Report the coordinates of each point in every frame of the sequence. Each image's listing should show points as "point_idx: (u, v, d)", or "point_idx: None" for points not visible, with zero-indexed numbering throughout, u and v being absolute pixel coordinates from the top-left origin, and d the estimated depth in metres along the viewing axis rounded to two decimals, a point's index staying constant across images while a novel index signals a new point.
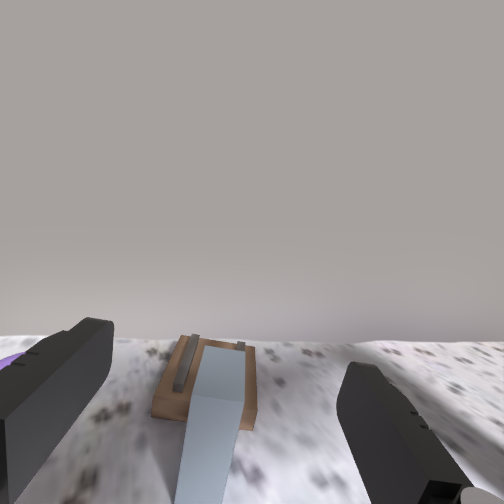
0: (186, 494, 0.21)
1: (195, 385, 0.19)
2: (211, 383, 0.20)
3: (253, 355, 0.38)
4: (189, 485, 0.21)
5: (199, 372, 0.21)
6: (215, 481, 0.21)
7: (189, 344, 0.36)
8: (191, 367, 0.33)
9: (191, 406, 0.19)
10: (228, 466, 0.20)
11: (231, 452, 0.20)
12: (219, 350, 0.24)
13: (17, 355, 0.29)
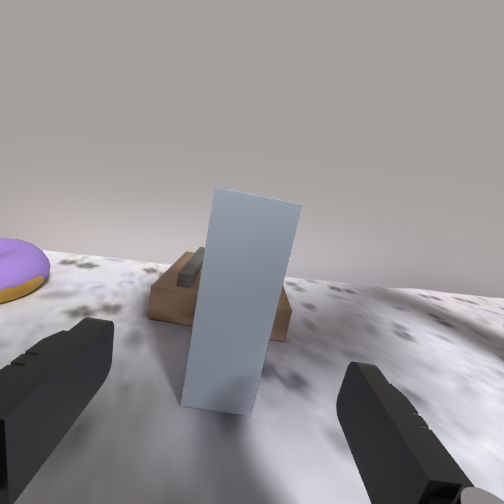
0: (201, 380, 0.13)
1: None
2: (244, 193, 0.12)
3: None
4: (205, 365, 0.13)
5: (223, 188, 0.13)
6: (246, 357, 0.13)
7: (197, 252, 0.29)
8: (200, 272, 0.26)
9: (213, 212, 0.11)
10: (269, 331, 0.13)
11: (275, 305, 0.12)
12: None
13: None
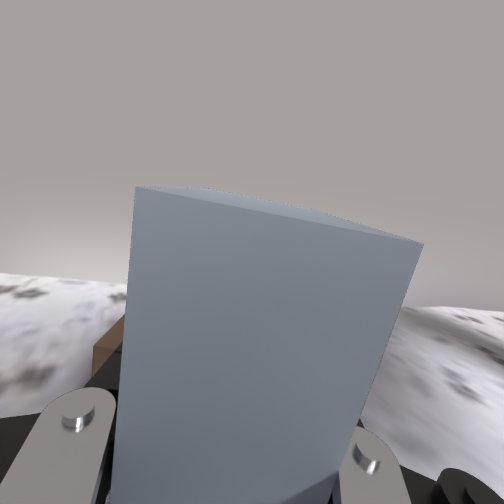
0: None
1: (165, 187, 0.04)
2: (238, 201, 0.05)
3: None
4: None
5: (188, 189, 0.06)
6: None
7: None
8: None
9: (138, 265, 0.04)
10: None
11: (321, 500, 0.05)
12: (247, 196, 0.09)
13: None
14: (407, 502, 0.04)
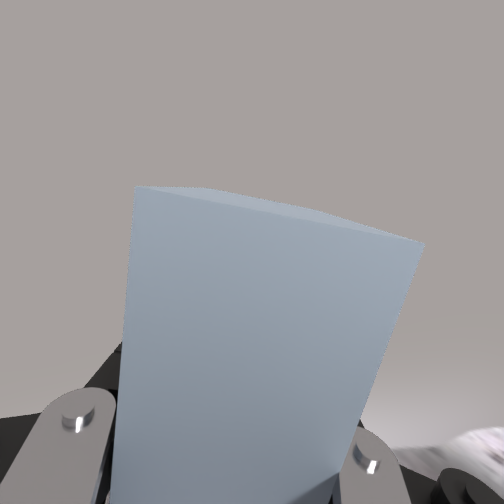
0: None
1: None
2: (238, 200, 0.05)
3: None
4: None
5: (188, 188, 0.06)
6: None
7: None
8: None
9: (138, 265, 0.03)
10: None
11: (322, 501, 0.05)
12: (247, 196, 0.09)
13: None
14: (407, 502, 0.04)
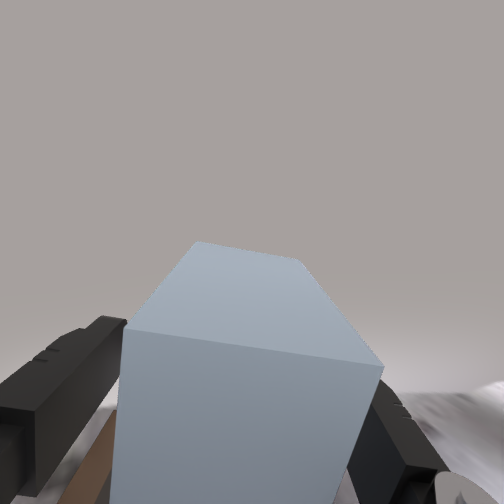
0: None
1: (152, 300, 0.04)
2: (221, 300, 0.05)
3: None
4: None
5: (175, 274, 0.06)
6: None
7: None
8: None
9: (127, 390, 0.04)
10: None
11: None
12: (234, 251, 0.09)
13: None
14: None
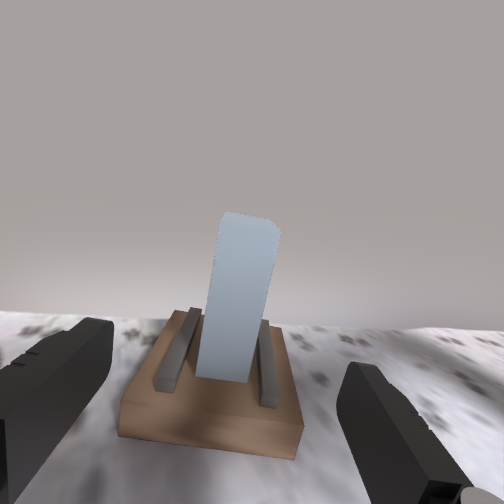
0: (210, 356, 0.18)
1: (223, 218, 0.17)
2: (241, 221, 0.17)
3: (281, 339, 0.26)
4: (213, 345, 0.18)
5: (225, 216, 0.18)
6: (243, 339, 0.18)
7: (186, 320, 0.24)
8: (189, 353, 0.21)
9: (220, 236, 0.16)
10: (259, 319, 0.18)
11: (263, 300, 0.17)
12: (242, 215, 0.21)
13: None
14: None
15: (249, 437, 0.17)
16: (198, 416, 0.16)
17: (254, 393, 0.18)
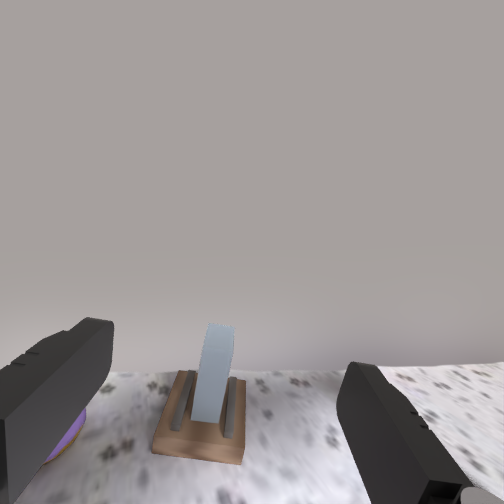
0: (198, 410, 0.35)
1: (204, 343, 0.33)
2: (214, 342, 0.34)
3: (244, 390, 0.42)
4: (200, 404, 0.35)
5: (206, 336, 0.35)
6: (215, 401, 0.35)
7: (186, 381, 0.40)
8: (187, 404, 0.38)
9: (202, 354, 0.33)
10: (224, 391, 0.34)
11: (225, 383, 0.34)
12: (218, 326, 0.38)
13: None
14: None
15: (217, 453, 0.33)
16: (191, 443, 0.33)
17: (221, 429, 0.35)
